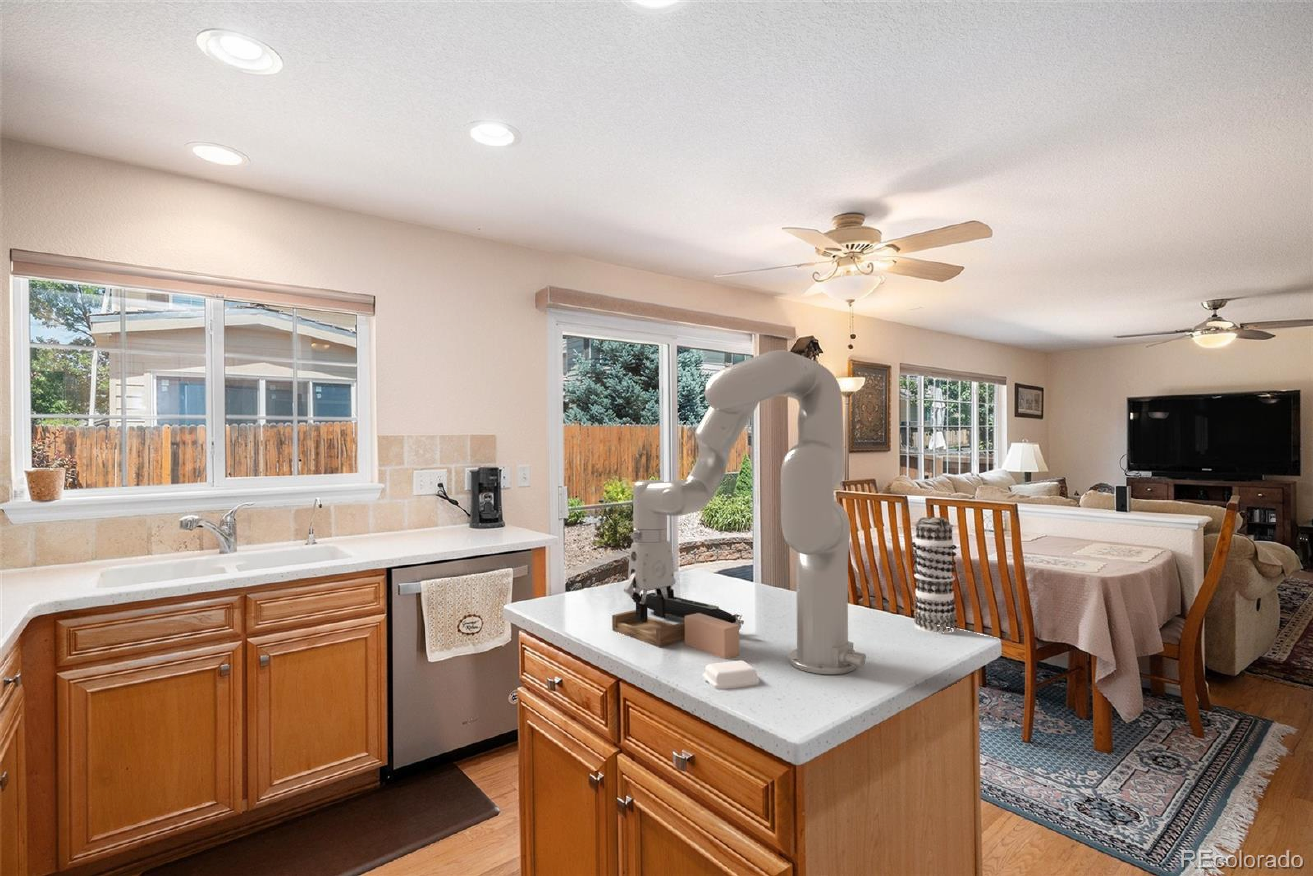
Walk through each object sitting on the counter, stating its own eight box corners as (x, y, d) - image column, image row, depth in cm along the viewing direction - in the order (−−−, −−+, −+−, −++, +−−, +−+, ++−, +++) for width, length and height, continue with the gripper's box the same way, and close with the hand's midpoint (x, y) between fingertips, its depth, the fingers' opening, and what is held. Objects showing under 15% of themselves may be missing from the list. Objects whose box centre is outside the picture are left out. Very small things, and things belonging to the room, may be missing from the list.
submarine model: (752, 634, 139) (748, 589, 138) (732, 643, 134) (728, 596, 134) (655, 610, 162) (652, 571, 161) (635, 617, 157) (632, 577, 157)
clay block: (739, 655, 127) (738, 625, 127) (724, 659, 124) (724, 628, 124) (699, 640, 136) (698, 612, 136) (684, 644, 134) (684, 616, 134)
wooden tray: (690, 638, 137) (690, 622, 137) (660, 647, 131) (660, 630, 131) (642, 623, 149) (642, 608, 149) (612, 630, 143) (612, 615, 143)
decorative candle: (949, 638, 136) (948, 522, 137) (906, 630, 143) (905, 518, 143) (963, 629, 143) (962, 518, 143) (921, 621, 149) (920, 515, 150)
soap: (745, 672, 118) (745, 656, 118) (762, 685, 111) (762, 669, 111) (700, 678, 115) (700, 662, 115) (714, 692, 108) (714, 675, 109)
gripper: (631, 542, 132) (632, 630, 132) (689, 534, 143) (689, 615, 143) (609, 538, 137) (609, 622, 137) (666, 530, 149) (667, 608, 149)
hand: (650, 618), depth 140 cm, fingers open, 4 cm apart
